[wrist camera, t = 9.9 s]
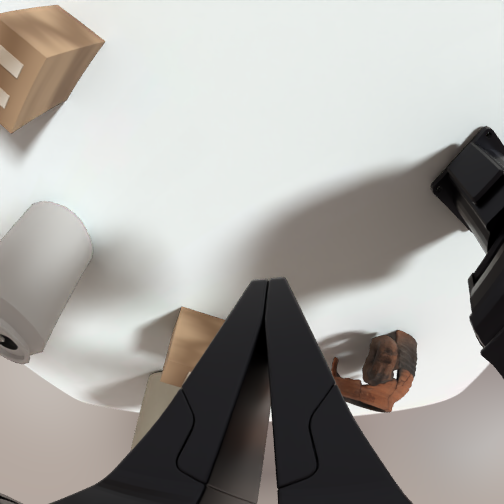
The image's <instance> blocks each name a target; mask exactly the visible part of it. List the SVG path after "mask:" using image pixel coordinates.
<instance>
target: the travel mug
mask: <svg viewBox="0 0 504 504" xmlns="http://www.w3.org/2000/svg"><path fill="white" fill-rule="evenodd" d="M161 375H162V372H157V373H153V374H151V375H150V376H149V379H148V383H147V387H146V390H145V394H144V398H143V402H142V406H141V410H140V414H139V418H138V422H137V426H136V430H135V434H134V438H133V442H132V447H131V450H132V449H133V448H134V447H135V446H136V445H137V444H138V442H139V441H140V440H141V439H142V438H143V437H144V436H145V434H146V433H147V432H148V431H149V430H150V428H151V427H152V426H153V425H154V424H155V422H156V421H157V420H158V419H159V417H160V416H161V415H162V413H163V412H164V411H165V409H166V408H167V406H168V405H169V404H170V402H171V401H172V399H173V398H174V396H175V395H176V394H177V392H178V390H179V389H182V388H181V387H177V386H174V385H170V384H167V383H164V382H160V379H161Z"/></svg>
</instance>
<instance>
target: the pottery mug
mask: <svg viewBox="0 0 504 504" xmlns="http://www.w3.org/2000/svg"><path fill="white" fill-rule="evenodd" d="M416 361H417V342H416V341H415V339H414V338H413V337H412V336H410V335H409V334H407V333H405V332H403V331H400V330H397V331H396V342H395V341H394V340H393V339H392V338H391V337H389V336H387V335H382V336H378V337H375V338H373V339H372V343H371V344H370V350H369V355H368V356H367V358H366V360H365V364H364V366H363V368H362V371H363V380H364V382H366V383H368V384H366V385H362V383H361V380H353V379H350V378H345V379H343V378H341V377H340V376H339V374H338V373H337V364H338V358H336V357H335V358H334V361H333V363H332V369H331V371H332V375H333V377H334V379H335V382H336V385H337V386H338V388H339V390H340V392H341V394H342V396H343V398H344V400H345V402H348V403H351V404H353V405H356V406H359V407H363V408H366V409H369V410H373V411H378V412H384V413H385V412H391V411H392V407H393V404H394V403H395V402H397V401H398V400H400V399H401V398H402V397H404V395H405V394H406V393H407V392H408V391H409V388H410V387H411V385H412V381H413V378H414V376H415V371H416V365H417V363H416ZM394 370H397V379H395V378H393V377H394V373H393V371H394Z"/></svg>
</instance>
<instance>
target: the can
mask: <svg viewBox="0 0 504 504" xmlns="http://www.w3.org/2000/svg"><path fill="white" fill-rule="evenodd" d="M92 256H93V245H92V242H91V238H90V235H89V234H88V232H87V229H86V227H85V226H84V224H83V222H82V221H81V220H80V218H79V217H78V216H77V215H76V214H75V213H74V212H72V211H71V210H69V209H68V208H67V207H64V206H62V205H59V204H55V203H53V202H46V201H40V202H37V203H34V204H32V205H31V206H30V207H29V209H28V210H27V211H26V212H25V213H24V214H23V215H22V216H21V217H20V219H19V220H18V221H17V222H16V223H15V224H14V225H13V227H12V228H11V229H10V230H9V231H8V233H7V234H6V235H5V236H4V237H3V239H2V240H1V241H0V355H1V356H3V357H4V358H7V359H8V360H11V361H13V362H15V363H19V364H26V363H29V360H30V355H33V354H36V353H40V352H43V350H44V348H45V345H46V343H47V341H48V339H49V337H50V335H51V333H52V331H53V329H54V327H55V325H56V323H57V321H58V319H59V317H60V315H61V313H62V311H63V309H64V307H65V305H66V303H67V301H68V299H69V298H70V296H71V294H72V292H73V290H74V288H75V287H76V285H77V283H78V281H79V279H80V278H81V276H82V274H83V272H84V271H85V269H86V267H87V265H88V264H89V262H90V260H91V258H92Z"/></svg>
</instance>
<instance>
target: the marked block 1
mask: <svg viewBox="0 0 504 504" xmlns="http://www.w3.org/2000/svg"><path fill="white" fill-rule="evenodd" d="M104 43H105V41H104V40H103V39H101V38H100V37H99V36H98V35H96V34H95V33H94V32H93V31H91V30H90V29H89V28H87V27H86V26H85V25H84V24H82V23H81V22H80V21H78V20H77V19H76V18H74V17H73V16H72V15H70V14H69V13H68V12H66V11H65V10H64V9H62V8H61V7H60V6H58V5H52V6H43V7H35V8H28V9H21V10H15V11H10V12H5V13H0V124H1V125H2V126H3V127H4V128H5V129H6V130H8V131H9V132H10V133H11V134H12V133H13V132H15V131H16V130H18V129H19V128H21V127H22V126H24V125H25V124H27V123H28V122H30V121H31V120H33V119H35V118H36V117H38V116H40V115H41V114H43V113H45V112H46V111H48V110H50V109H51V108H53V107H55V106H57V105H58V104H60V103H62V102H64V101H66V100H67V99H68V97H69V95H70V94H71V92H72V90H73V89H74V87H75V85H76V84H77V82H78V81H79V79H80V78H81V76H82V74H83V73H84V71H85V70H86V68H87V67H88V65H89V64H90V62H91V61H92V60H93V58H94V57H95V55H96V54H97V52H98V51H99V50H100V48H101V47H102V45H103V44H104Z"/></svg>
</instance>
